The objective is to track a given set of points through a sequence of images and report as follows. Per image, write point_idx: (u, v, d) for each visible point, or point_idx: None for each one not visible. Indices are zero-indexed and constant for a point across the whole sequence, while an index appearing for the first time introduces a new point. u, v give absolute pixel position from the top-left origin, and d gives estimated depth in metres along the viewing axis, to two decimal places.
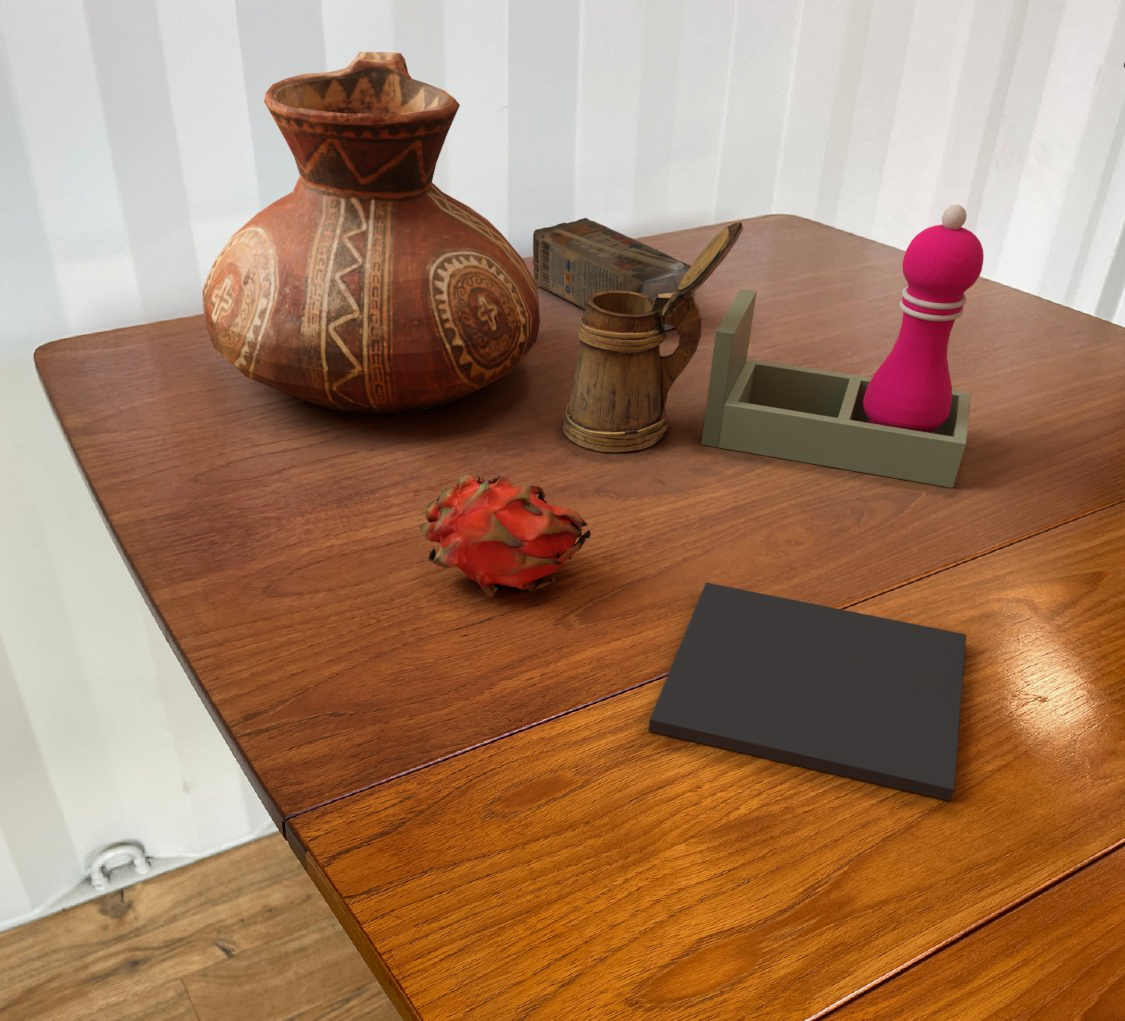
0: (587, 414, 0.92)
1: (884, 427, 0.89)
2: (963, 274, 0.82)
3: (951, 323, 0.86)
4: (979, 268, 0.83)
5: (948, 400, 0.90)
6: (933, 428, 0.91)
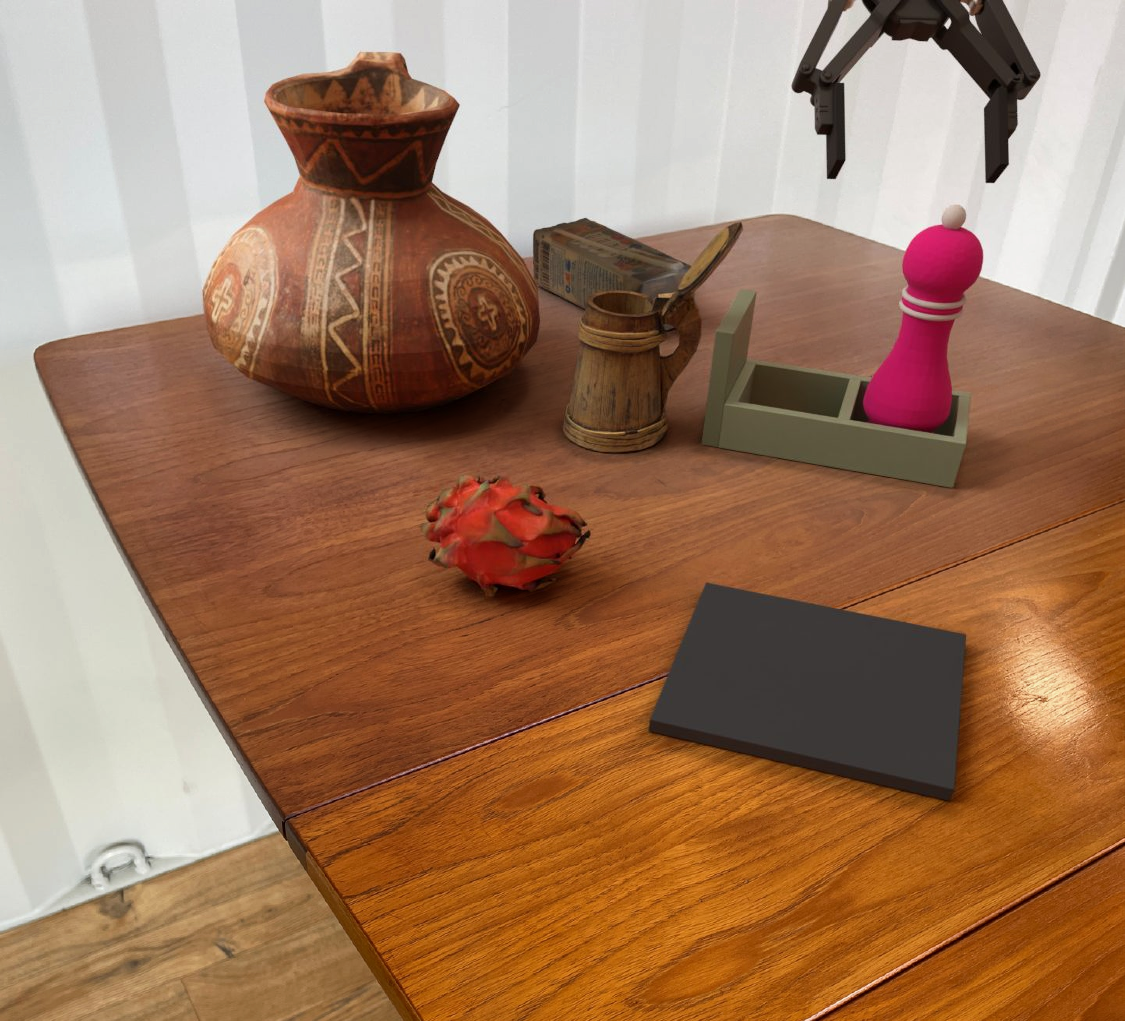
0: (587, 414, 0.92)
1: (884, 427, 0.89)
2: (962, 274, 0.82)
3: (951, 323, 0.86)
4: (979, 268, 0.83)
5: (948, 400, 0.90)
6: (933, 428, 0.91)
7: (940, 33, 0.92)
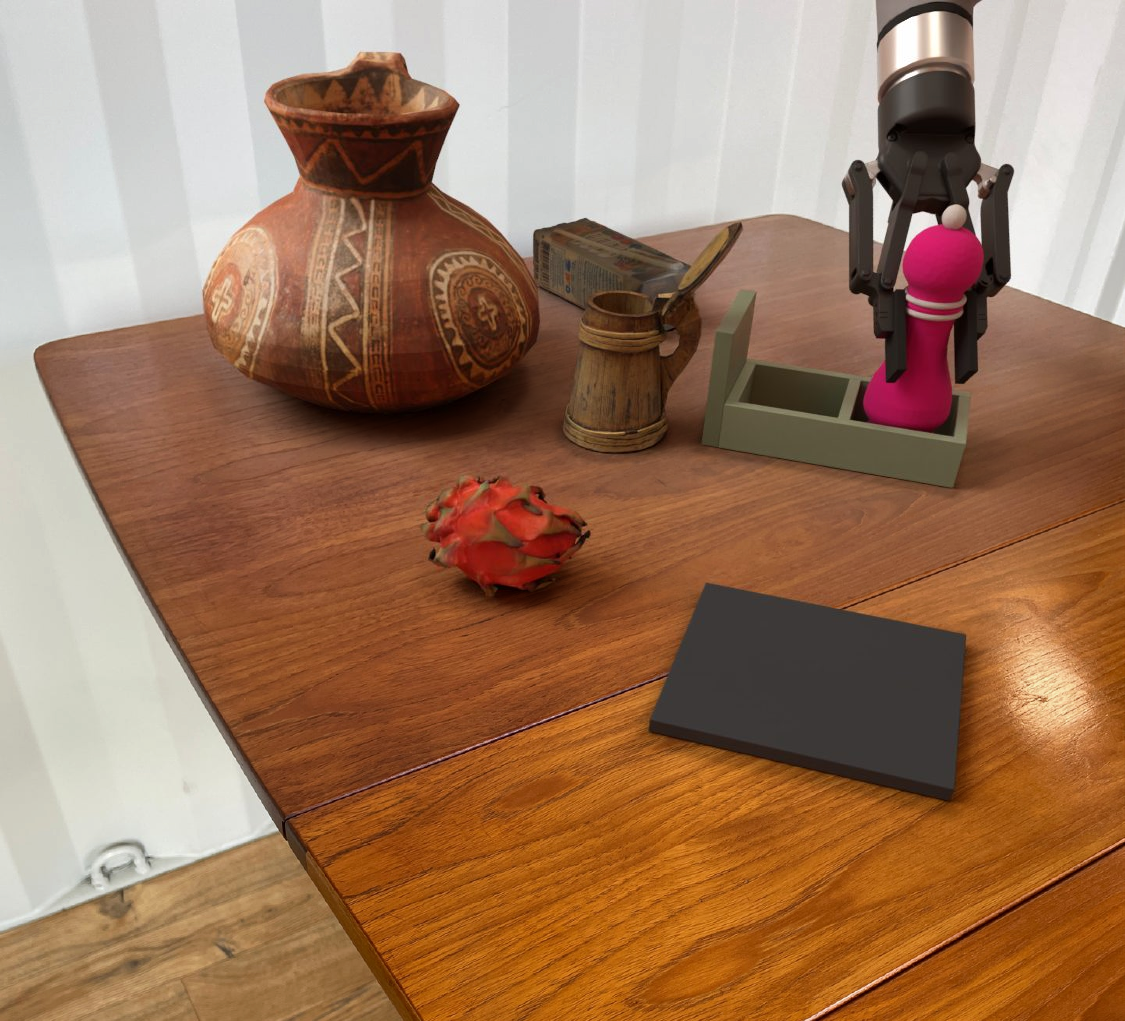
0: (587, 414, 0.92)
1: (884, 427, 0.89)
2: (963, 274, 0.82)
3: (951, 323, 0.86)
4: (979, 268, 0.83)
5: (948, 400, 0.90)
6: (933, 428, 0.91)
7: None
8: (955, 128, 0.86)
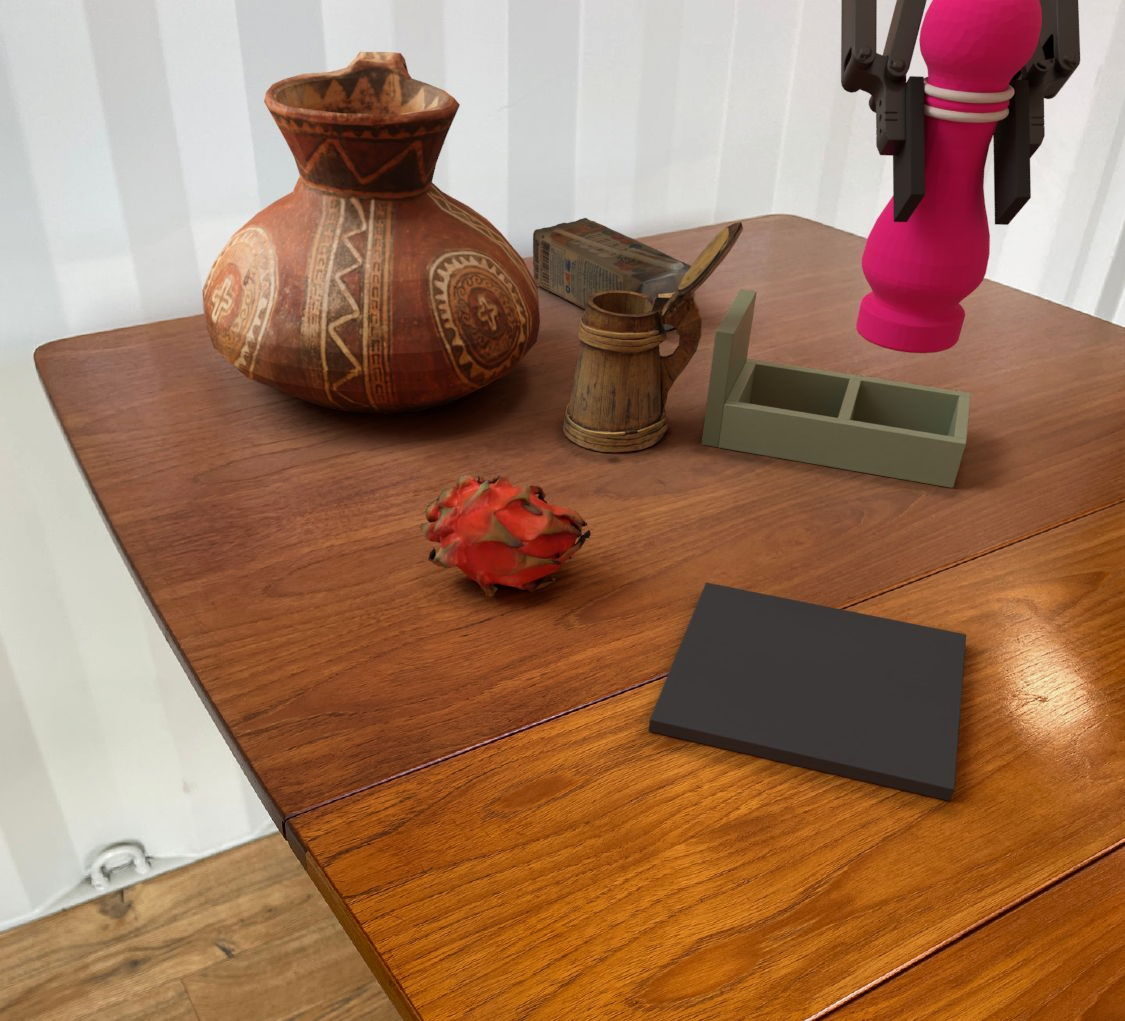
0: (587, 414, 0.92)
1: (884, 427, 0.89)
2: (1011, 41, 0.54)
3: (991, 128, 0.58)
4: (1035, 34, 0.55)
5: (984, 252, 0.62)
6: (962, 294, 0.63)
7: None
8: None
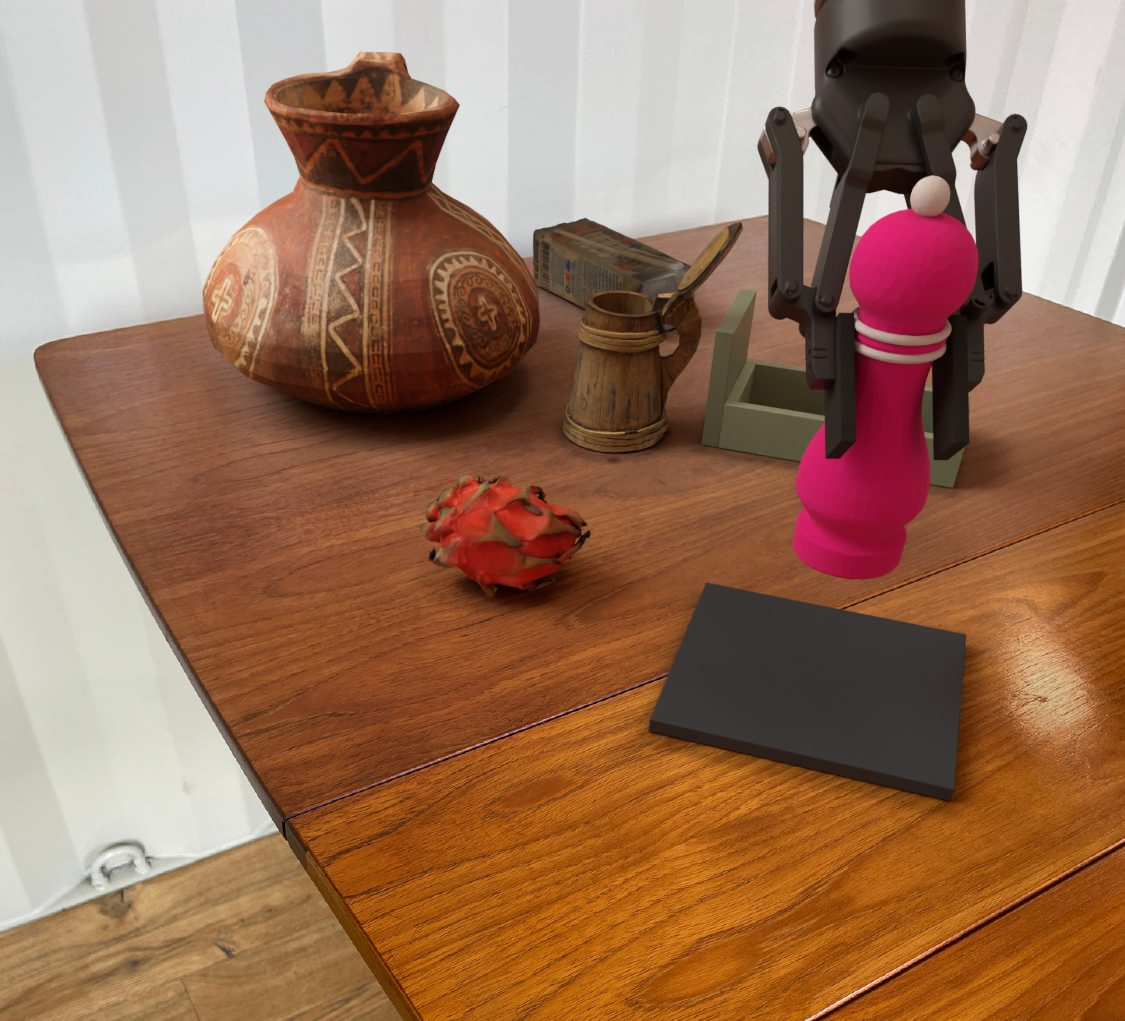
0: (587, 414, 0.92)
1: None
2: (944, 289, 0.50)
3: (927, 366, 0.54)
4: (971, 279, 0.51)
5: (923, 483, 0.58)
6: (901, 525, 0.59)
7: None
8: (933, 57, 0.54)
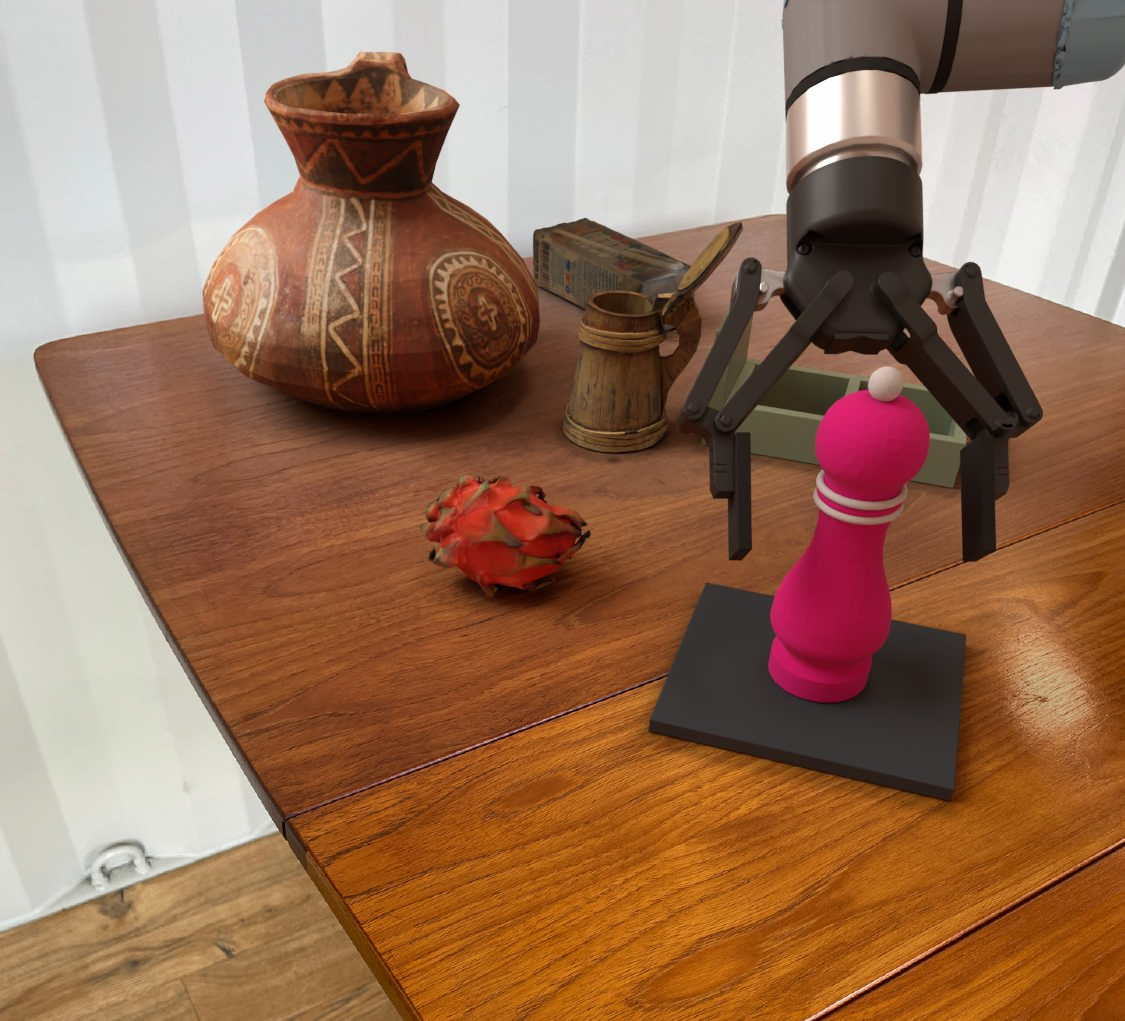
0: (587, 414, 0.92)
1: None
2: (898, 466, 0.56)
3: (886, 524, 0.60)
4: (923, 455, 0.57)
5: (885, 621, 0.64)
6: (865, 657, 0.65)
7: (896, 341, 0.63)
8: (893, 237, 0.60)
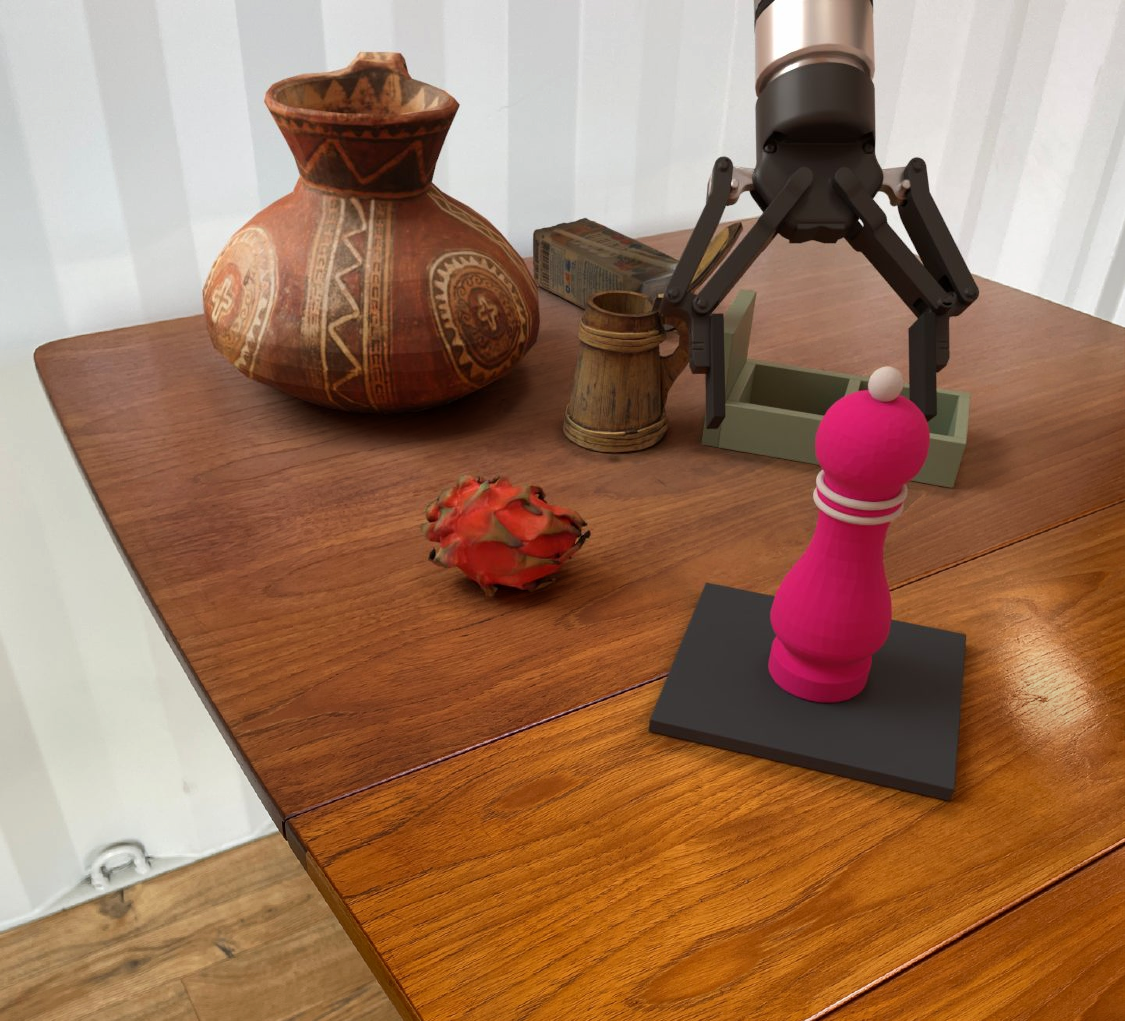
0: (587, 414, 0.92)
1: None
2: (898, 467, 0.56)
3: (886, 524, 0.60)
4: (923, 456, 0.57)
5: (885, 621, 0.64)
6: (865, 657, 0.65)
7: (852, 231, 0.71)
8: (848, 136, 0.68)
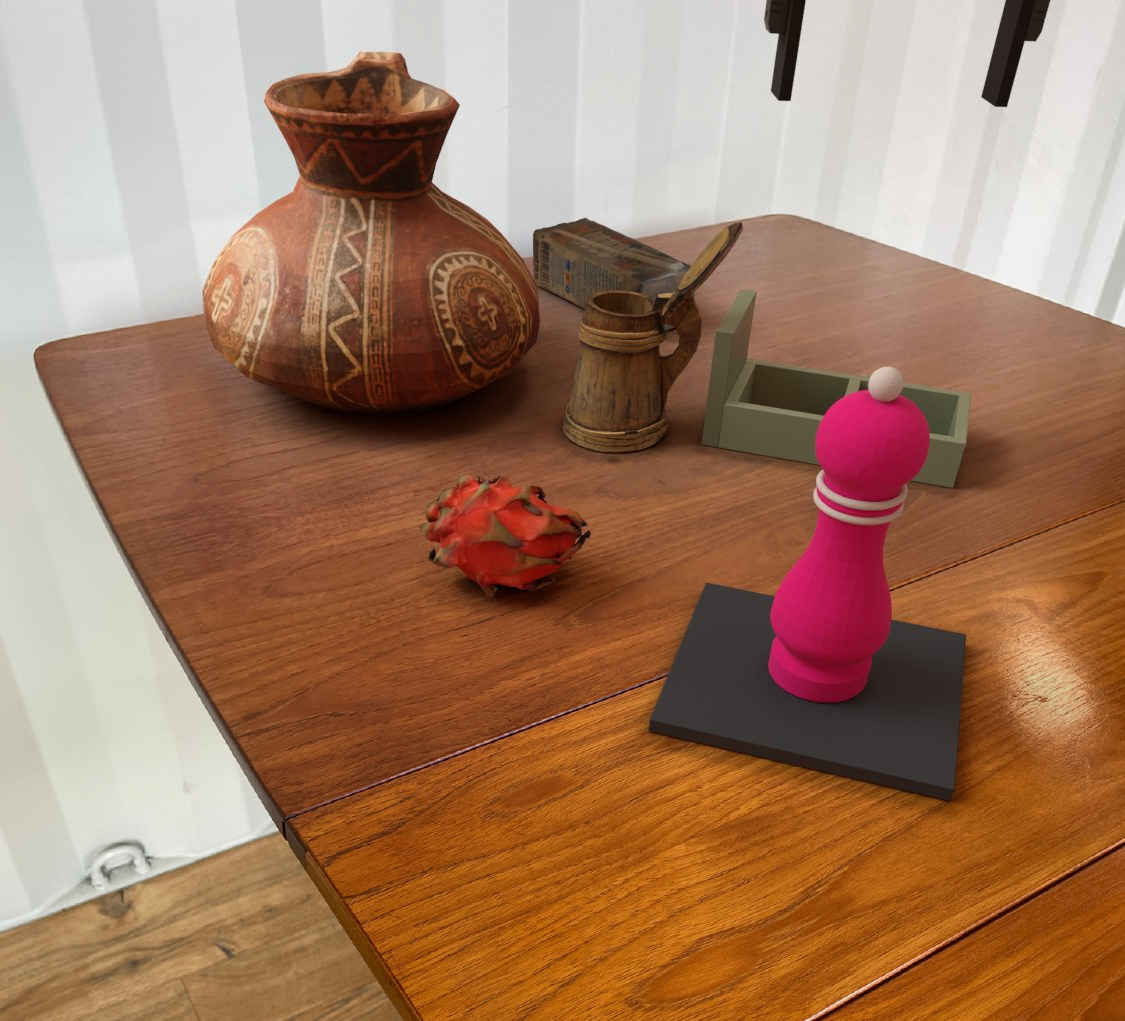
0: (587, 414, 0.92)
1: None
2: (898, 467, 0.56)
3: (886, 524, 0.60)
4: (923, 456, 0.57)
5: (885, 621, 0.64)
6: (865, 657, 0.65)
7: None
8: None
